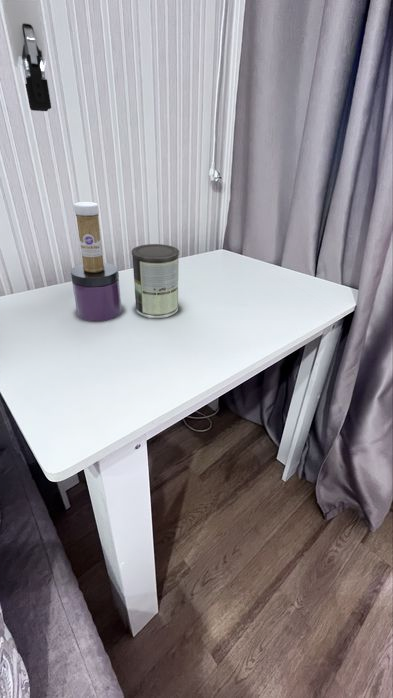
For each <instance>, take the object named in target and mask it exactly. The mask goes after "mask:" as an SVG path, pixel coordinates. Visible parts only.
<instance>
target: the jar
mask: <svg viewBox="0 0 393 698" xmlns="http://www.w3.org/2000/svg"><path fill="white" fill-rule="evenodd" d="M71 285H72V290H73V296H74V301H75V306H76V308H75V309H76V312H77V313H76V314H77V316H78V317H79V318H80V319H81V320H84V321H87V322H105V321H111V320H113V319H115V318H117V317H119V316H120V315H121V314H122V311H123V310H122V309H123V308H122V298H121V287H120V277H119V278H118V280H117V281H115V282H113V283H111V284H108V285H104V286H95V287H89V286H81V285H77V284H75V283H74V282H73V281H72V280H71Z"/></svg>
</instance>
